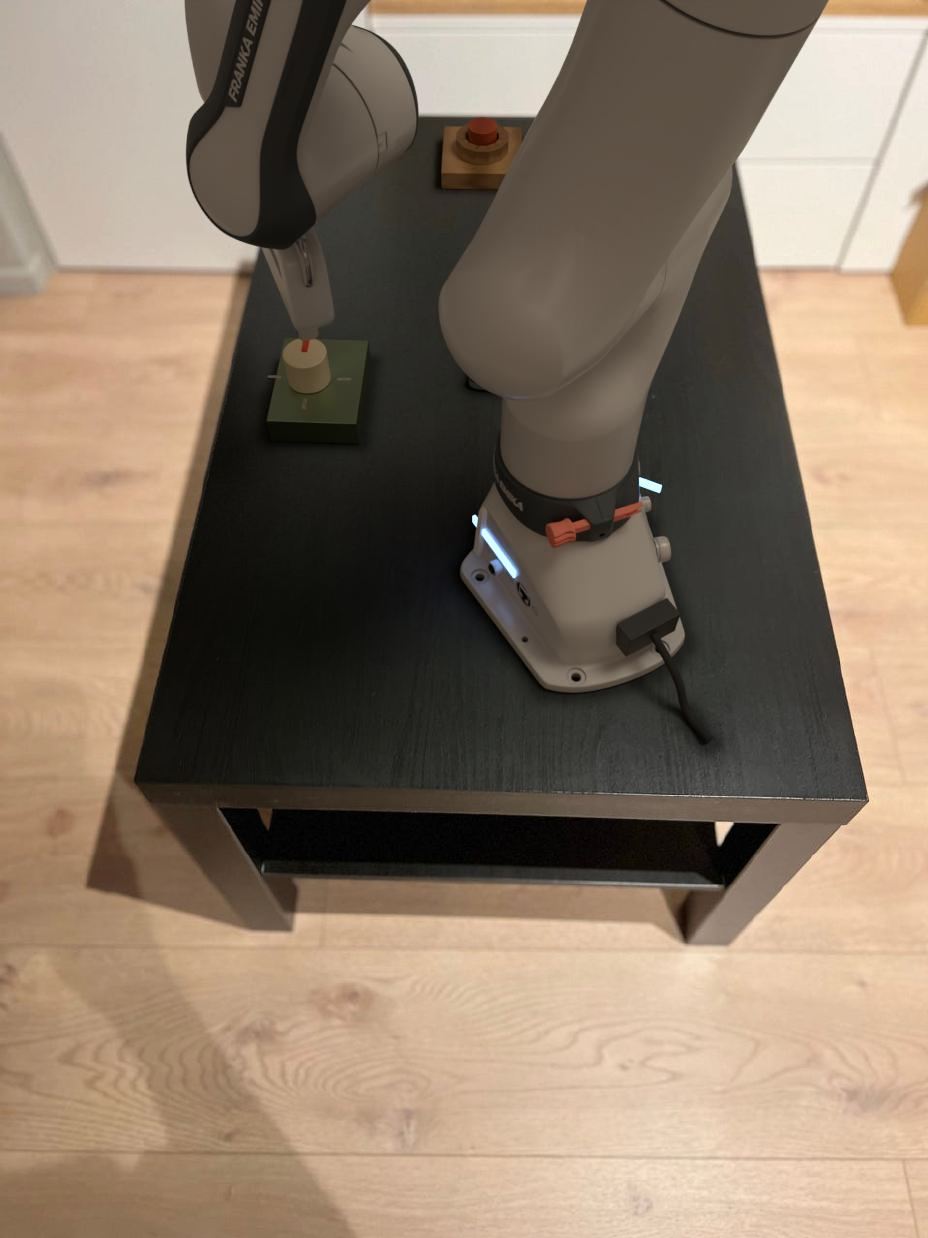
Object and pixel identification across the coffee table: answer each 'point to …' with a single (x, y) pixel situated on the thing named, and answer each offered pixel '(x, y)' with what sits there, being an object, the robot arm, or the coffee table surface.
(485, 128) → the button
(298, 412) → the panel
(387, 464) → the coffee table surface
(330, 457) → the coffee table surface
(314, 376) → the knob
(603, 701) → the coffee table surface
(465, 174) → the button block
